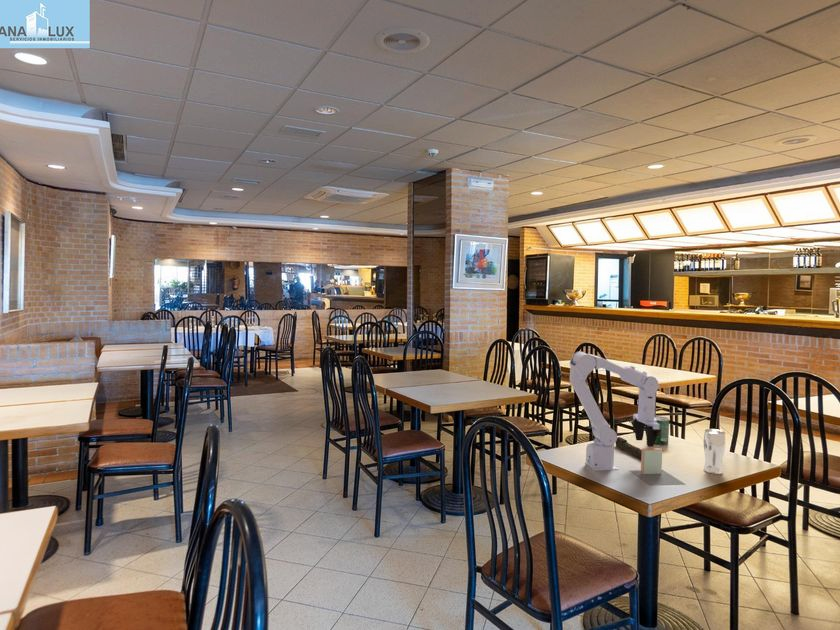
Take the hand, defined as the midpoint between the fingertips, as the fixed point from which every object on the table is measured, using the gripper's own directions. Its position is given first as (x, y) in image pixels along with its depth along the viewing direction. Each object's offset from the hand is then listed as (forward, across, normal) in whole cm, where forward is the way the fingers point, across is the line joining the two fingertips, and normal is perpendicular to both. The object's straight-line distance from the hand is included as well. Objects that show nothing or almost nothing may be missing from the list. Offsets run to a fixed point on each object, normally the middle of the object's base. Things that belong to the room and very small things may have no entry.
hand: (644, 443), depth 192 cm
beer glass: (+9, -5, -24) cm, 26 cm away
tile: (+9, -7, +1) cm, 11 cm away
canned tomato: (+9, +29, -23) cm, 38 cm away
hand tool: (+10, +17, -3) cm, 20 cm away
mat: (+9, -10, +1) cm, 14 cm away
